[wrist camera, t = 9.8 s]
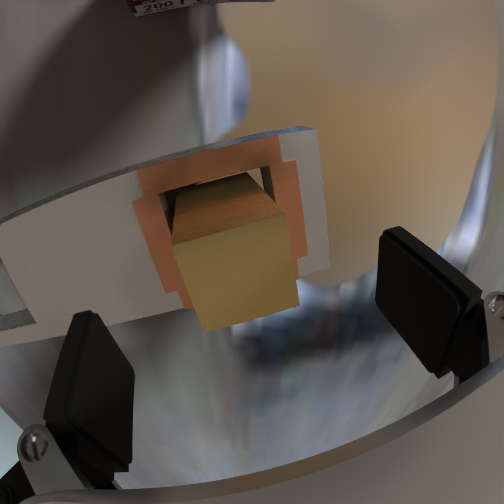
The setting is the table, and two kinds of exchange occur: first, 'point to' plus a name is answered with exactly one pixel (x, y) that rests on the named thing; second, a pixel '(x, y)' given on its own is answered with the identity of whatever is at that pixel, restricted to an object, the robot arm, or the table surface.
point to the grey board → (146, 233)
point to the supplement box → (172, 4)
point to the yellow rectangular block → (233, 251)
